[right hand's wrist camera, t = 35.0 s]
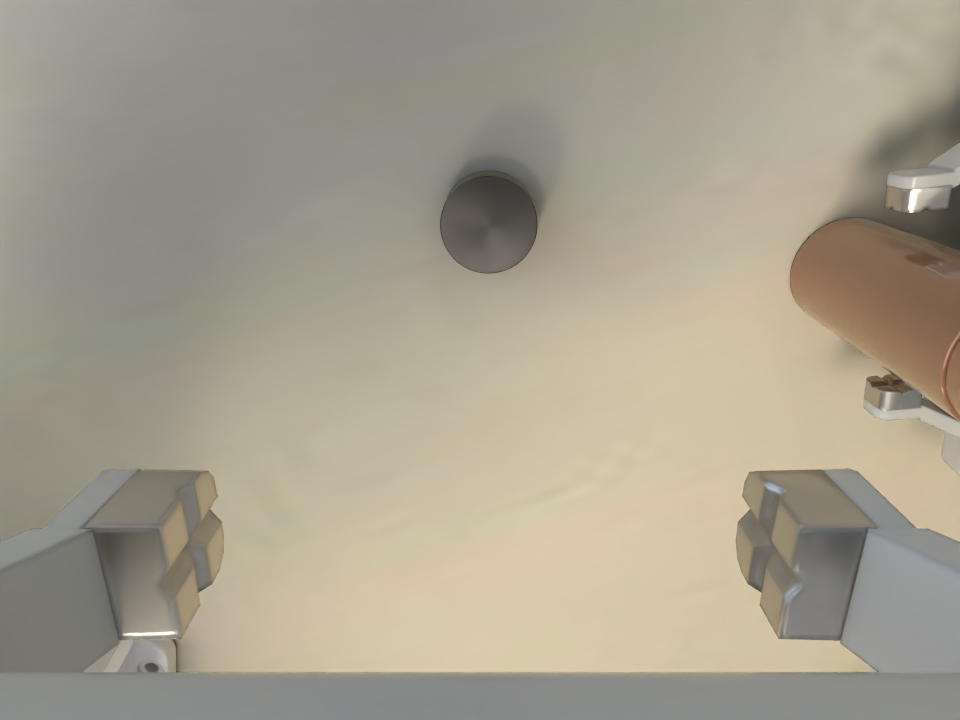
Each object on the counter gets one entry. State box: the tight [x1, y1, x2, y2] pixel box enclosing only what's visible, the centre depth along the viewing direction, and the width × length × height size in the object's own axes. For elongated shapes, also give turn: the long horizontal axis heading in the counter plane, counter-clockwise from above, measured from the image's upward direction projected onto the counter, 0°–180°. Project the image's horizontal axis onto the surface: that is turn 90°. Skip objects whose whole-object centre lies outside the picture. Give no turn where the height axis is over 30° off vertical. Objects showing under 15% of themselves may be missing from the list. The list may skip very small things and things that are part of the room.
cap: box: [440, 171, 537, 273], centre depth 32 cm, size 4×4×2 cm
